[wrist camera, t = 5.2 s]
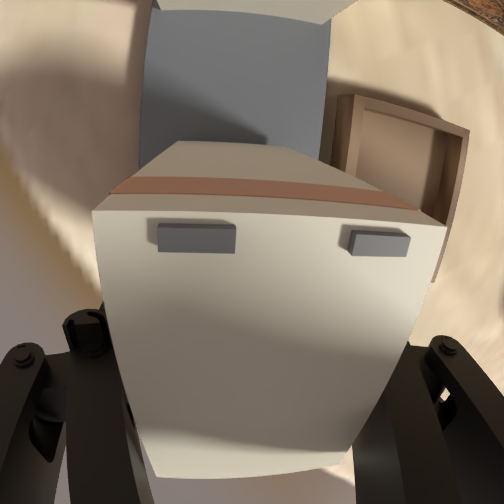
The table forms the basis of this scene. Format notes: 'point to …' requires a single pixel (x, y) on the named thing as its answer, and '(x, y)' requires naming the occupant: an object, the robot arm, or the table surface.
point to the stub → (256, 304)
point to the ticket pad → (267, 7)
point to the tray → (402, 155)
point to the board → (233, 80)
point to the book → (483, 11)
